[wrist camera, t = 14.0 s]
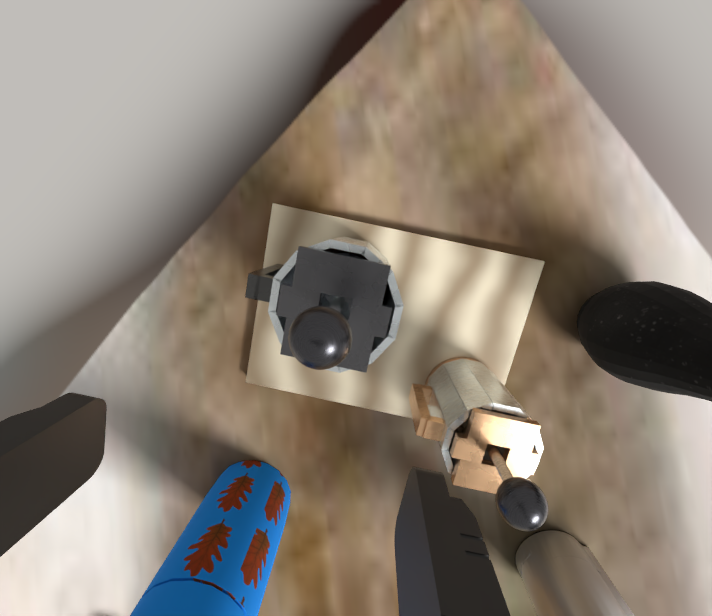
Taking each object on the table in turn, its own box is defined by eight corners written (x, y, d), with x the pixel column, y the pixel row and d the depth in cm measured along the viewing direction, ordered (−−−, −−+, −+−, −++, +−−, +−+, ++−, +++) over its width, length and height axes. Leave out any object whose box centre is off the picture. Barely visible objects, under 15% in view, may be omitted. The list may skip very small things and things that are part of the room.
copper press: (505, 365, 42) (561, 422, 30) (484, 428, 44) (529, 508, 32) (416, 345, 42) (434, 395, 30) (399, 410, 44) (409, 482, 32)
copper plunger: (507, 390, 38) (593, 493, 23) (491, 442, 39) (561, 569, 24) (450, 378, 38) (499, 472, 23) (435, 430, 39) (473, 550, 24)
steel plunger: (389, 262, 34) (405, 292, 18) (372, 335, 36) (371, 428, 19) (312, 245, 34) (254, 259, 18) (299, 320, 36) (234, 398, 19)
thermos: (215, 454, 49) (57, 680, 24) (293, 462, 48) (211, 699, 24) (216, 521, 51) (71, 789, 27) (290, 530, 51) (212, 808, 26)
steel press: (401, 248, 40) (417, 258, 25) (381, 333, 42) (385, 387, 28) (291, 224, 40) (244, 221, 25) (277, 311, 42) (226, 353, 28)
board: (538, 260, 41) (544, 261, 40) (484, 428, 46) (488, 434, 44) (276, 204, 41) (272, 203, 40) (249, 377, 46) (245, 382, 44)
